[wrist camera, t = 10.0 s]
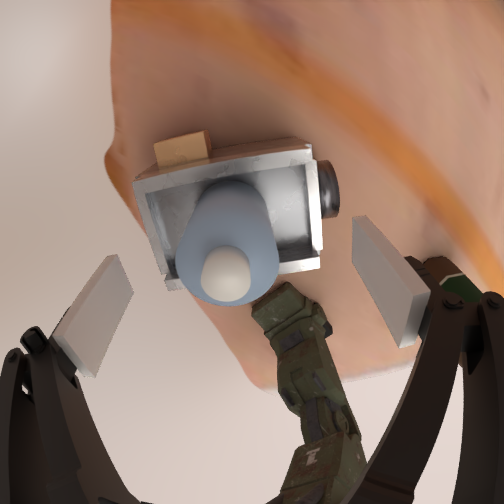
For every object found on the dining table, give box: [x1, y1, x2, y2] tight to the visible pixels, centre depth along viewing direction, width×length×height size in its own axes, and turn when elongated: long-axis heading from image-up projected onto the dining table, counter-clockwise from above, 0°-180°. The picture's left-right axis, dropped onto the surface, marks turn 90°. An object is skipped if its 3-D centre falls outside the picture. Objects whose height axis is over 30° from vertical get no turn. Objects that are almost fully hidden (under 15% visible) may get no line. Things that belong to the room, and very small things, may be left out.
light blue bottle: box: [175, 181, 279, 306], centre depth 17 cm, size 6×6×8 cm
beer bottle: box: [423, 257, 483, 368], centre depth 21 cm, size 8×8×24 cm
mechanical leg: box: [251, 282, 367, 504], centre depth 21 cm, size 14×7×30 cm, turn 42°
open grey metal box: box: [132, 129, 340, 291], centre depth 22 cm, size 15×11×8 cm
